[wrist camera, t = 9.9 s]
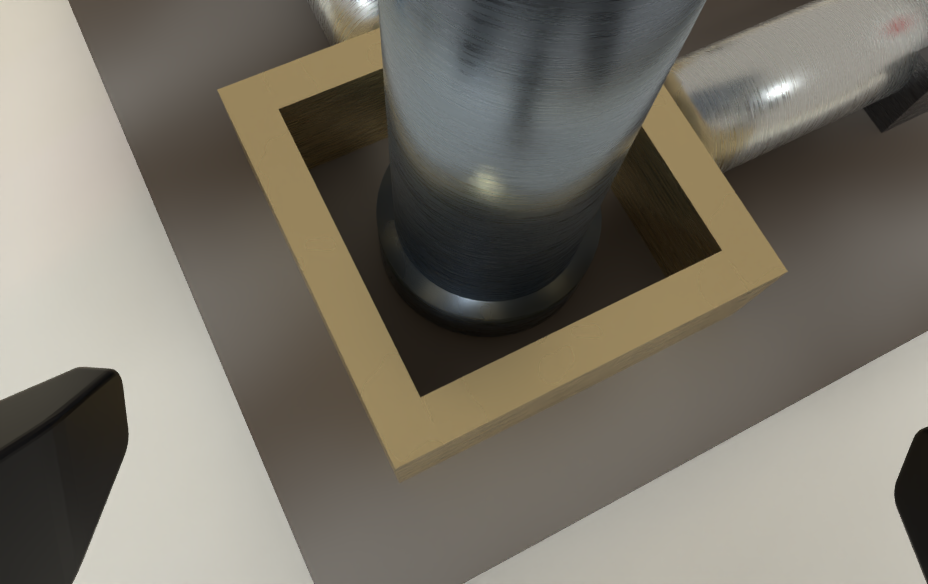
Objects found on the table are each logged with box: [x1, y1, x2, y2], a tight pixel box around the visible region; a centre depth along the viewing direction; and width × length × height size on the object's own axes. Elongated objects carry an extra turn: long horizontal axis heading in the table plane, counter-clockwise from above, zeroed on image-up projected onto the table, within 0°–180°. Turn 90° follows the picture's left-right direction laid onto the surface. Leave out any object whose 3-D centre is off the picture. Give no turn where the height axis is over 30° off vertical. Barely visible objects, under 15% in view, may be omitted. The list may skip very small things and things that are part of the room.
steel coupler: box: [376, 0, 706, 337], centre depth 13 cm, size 5×5×13 cm
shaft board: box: [68, 0, 928, 584], centre depth 22 cm, size 23×23×1 cm
